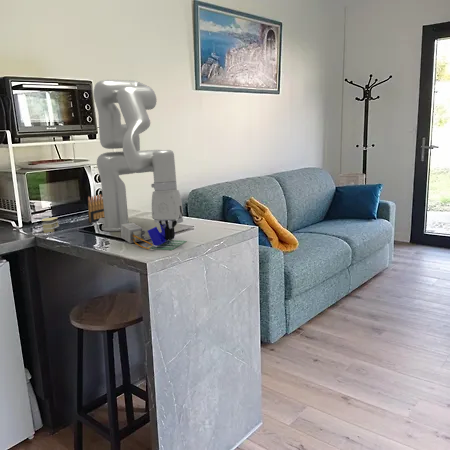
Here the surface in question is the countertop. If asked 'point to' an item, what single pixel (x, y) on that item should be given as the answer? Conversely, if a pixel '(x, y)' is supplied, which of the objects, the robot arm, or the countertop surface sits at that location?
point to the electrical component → (133, 234)
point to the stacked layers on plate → (49, 224)
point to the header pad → (168, 245)
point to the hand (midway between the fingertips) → (170, 239)
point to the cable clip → (157, 235)
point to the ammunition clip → (95, 208)
